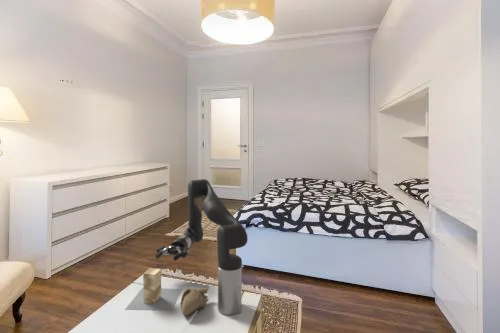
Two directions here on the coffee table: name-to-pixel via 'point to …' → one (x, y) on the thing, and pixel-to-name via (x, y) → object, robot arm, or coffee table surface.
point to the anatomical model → (193, 300)
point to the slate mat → (163, 303)
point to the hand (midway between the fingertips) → (165, 257)
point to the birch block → (151, 285)
